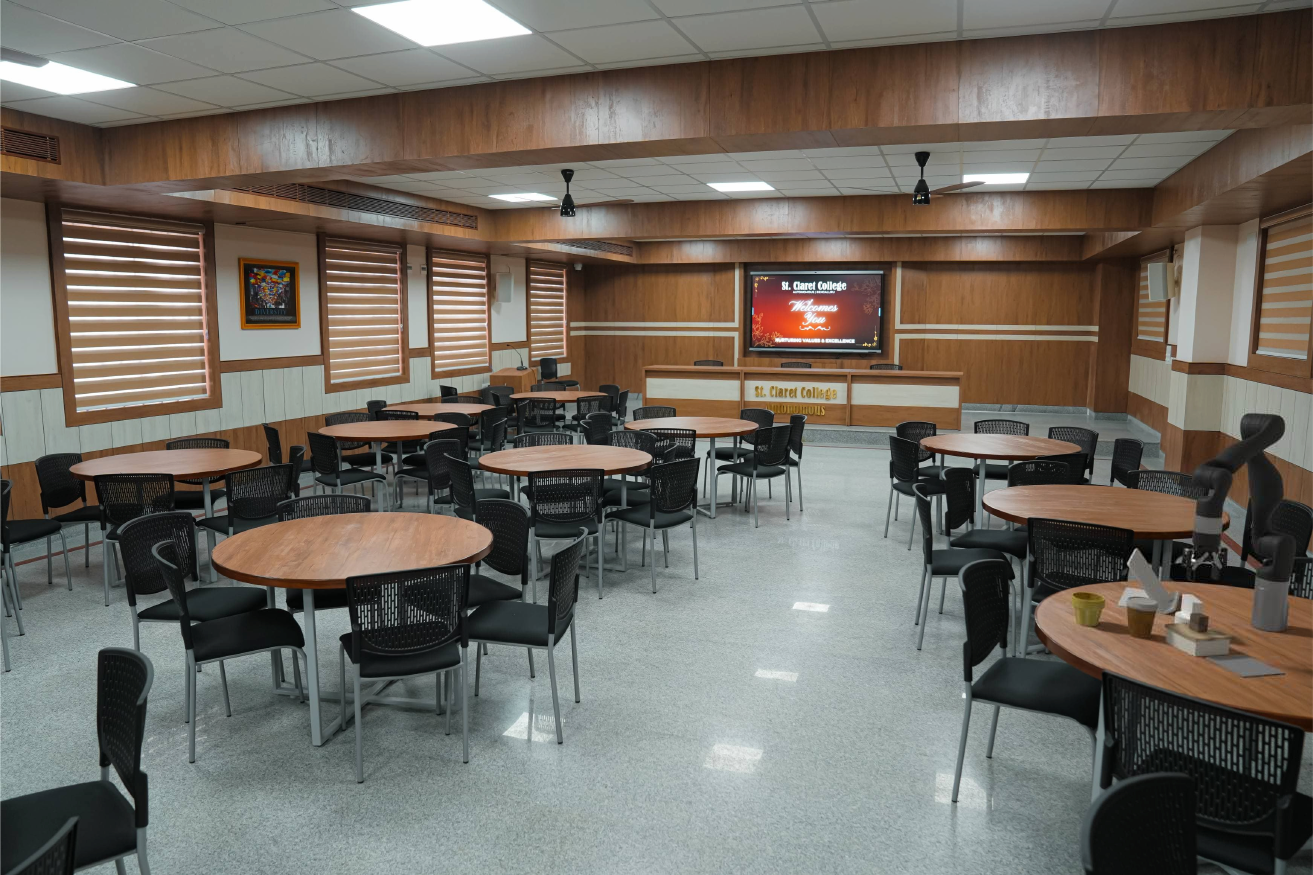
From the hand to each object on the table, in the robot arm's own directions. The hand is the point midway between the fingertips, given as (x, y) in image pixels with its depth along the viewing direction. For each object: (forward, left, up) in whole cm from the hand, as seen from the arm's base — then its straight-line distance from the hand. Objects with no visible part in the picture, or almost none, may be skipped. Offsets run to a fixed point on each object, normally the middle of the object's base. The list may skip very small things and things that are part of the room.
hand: (1202, 579), depth 268 cm
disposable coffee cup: (+10, -13, -23) cm, 28 cm away
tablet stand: (-18, -42, -23) cm, 51 cm away
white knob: (-8, -12, -23) cm, 27 cm away
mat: (-3, +15, -23) cm, 27 cm away
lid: (0, 0, -18) cm, 18 cm away
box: (0, 0, -23) cm, 23 cm away
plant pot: (+20, -26, -23) cm, 40 cm away
